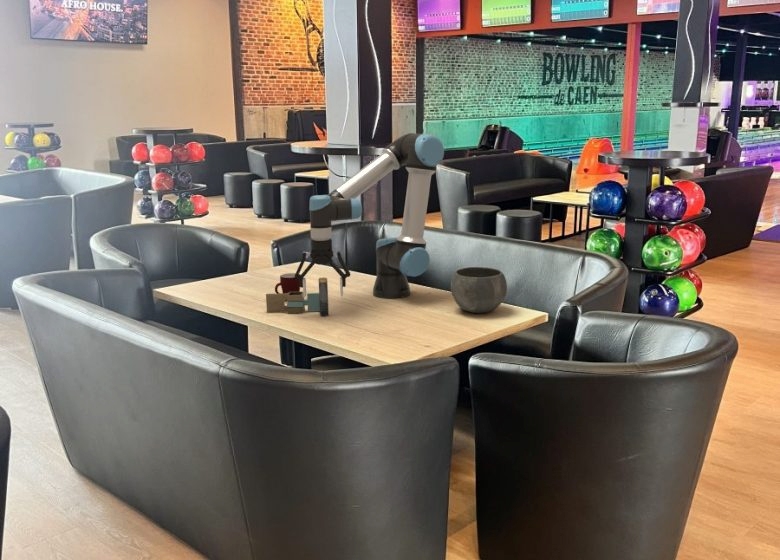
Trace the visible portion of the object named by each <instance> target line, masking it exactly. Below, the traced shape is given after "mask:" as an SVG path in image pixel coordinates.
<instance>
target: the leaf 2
mask: <svg viewBox="0 0 780 560" xmlns="http://www.w3.org/2000/svg"><path fill="white" fill-rule="evenodd" d="M286 301H287V300H286ZM304 305H305V306H307V311H308V312H320V304H319V292H306V299H305V298H304V299H303V301H287V302H286V306H287V307H303V306H304Z"/></svg>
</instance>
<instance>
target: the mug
mask: <svg viewBox="0 0 780 560" xmlns="http://www.w3.org/2000/svg"><path fill="white" fill-rule="evenodd" d="M295 274H296V272H293V273H289V272H288V273H284V274H280V275H279V282H277V284H276V285H275V286H274V292H275V294H278V293H280V292H279V290H278V288H279V287H281V291H282V292H281V293H288V292H301V291H300V290H301V287H300V279H299V278H295Z"/></svg>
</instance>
